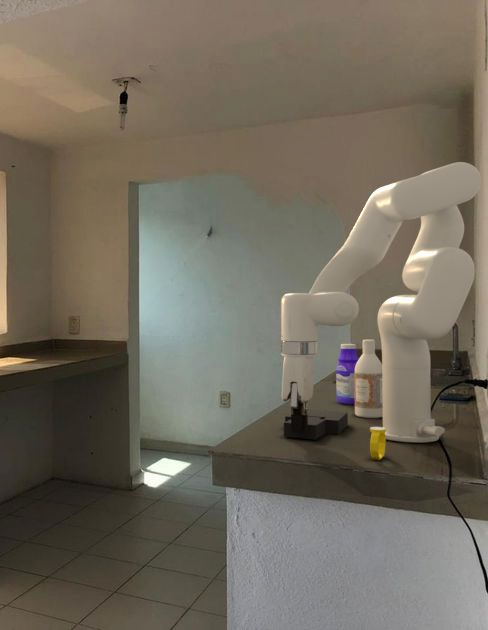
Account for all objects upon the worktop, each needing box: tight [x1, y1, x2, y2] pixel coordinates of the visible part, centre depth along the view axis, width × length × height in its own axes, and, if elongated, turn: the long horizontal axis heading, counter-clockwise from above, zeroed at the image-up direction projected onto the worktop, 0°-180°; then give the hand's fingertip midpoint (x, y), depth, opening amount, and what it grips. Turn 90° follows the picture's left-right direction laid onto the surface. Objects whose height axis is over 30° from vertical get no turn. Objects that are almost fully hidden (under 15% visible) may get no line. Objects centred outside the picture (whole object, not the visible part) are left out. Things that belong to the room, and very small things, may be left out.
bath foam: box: [354, 339, 383, 419], centre depth 170 cm, size 7×7×20 cm
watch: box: [369, 426, 387, 461], centre depth 127 cm, size 6×3×6 cm, turn 141°
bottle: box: [335, 343, 360, 406], centre depth 190 cm, size 7×6×17 cm
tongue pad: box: [283, 417, 327, 441], centre depth 150 cm, size 7×12×3 cm, turn 145°
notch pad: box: [284, 409, 349, 435], centre depth 157 cm, size 12×12×3 cm
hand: (299, 432), depth 143 cm, fingers closed
